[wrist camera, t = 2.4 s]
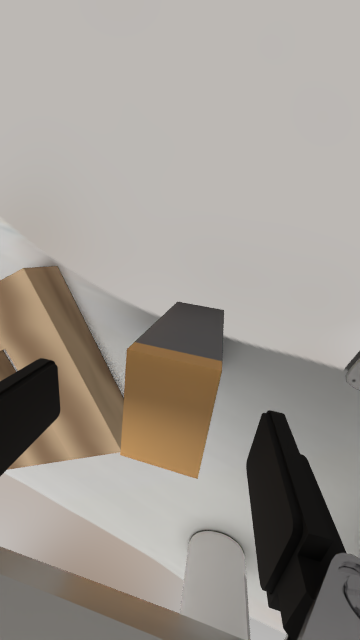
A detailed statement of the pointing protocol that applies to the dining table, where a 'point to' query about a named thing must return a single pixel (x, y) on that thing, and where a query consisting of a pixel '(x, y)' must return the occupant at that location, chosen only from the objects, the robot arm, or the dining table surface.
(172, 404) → the key peg
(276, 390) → the dining table surface
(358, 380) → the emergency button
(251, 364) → the dining table surface
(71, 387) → the socket block
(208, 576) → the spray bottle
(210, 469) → the dining table surface
